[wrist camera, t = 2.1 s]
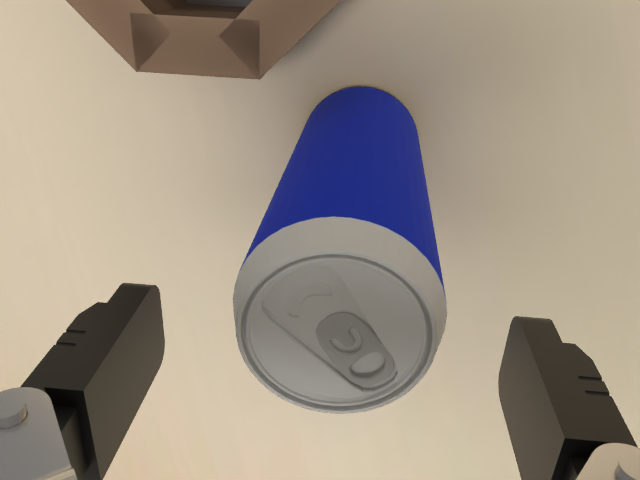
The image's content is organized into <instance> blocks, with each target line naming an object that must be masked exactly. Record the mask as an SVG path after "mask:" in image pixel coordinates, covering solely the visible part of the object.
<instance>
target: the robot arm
mask: <svg viewBox="0 0 640 480" xmlns="http://www.w3.org/2000/svg"><path fill="white" fill-rule="evenodd" d="M164 348H165V339H164V329H163V319H162V309H161V300H160V292H159V289H158V287H157V286H156V285H145V284H133V283H123V284H121V285H120V286H119V288H118V289H117V290H116V292H115V293H114V294H113V296H112V297H111V298H110V300H109V301H108V302H107V303H100V302H97V303H96V304H94V305H93V306H91V307H90V308H88V309H86V310H85V311H83V312H82V313H80V314H79V315H78V316H77V317H76V318H75V319H74V321H73V322H72V323H71V324H70V326H69V327H68V328H67V329H66V333H63V334H62V336H61V337H60V338H59V339H58V341H57V343H56V345H54V346H53V347H52V348H51V349H50V351H49V352H48V353H47V354H46V356H45V357H44V358H43V359H42V361H41V362H40V363H39V364H38V366H37V367H36V368H35V369H34V371H33V372H32V373H31V374H30V376H29V377H28V378H27V379H26V380H25V382H24V383H23V384H22V385H21V387H18V388H12V389H8V390H4V391H2V392H0V480H103V478H104V476H105V474H106V472H107V470H108V468H109V466H110V464H111V462H112V460H113V458H114V456H115V454H116V452H117V451H118V449H119V447H120V445H121V443H122V441H123V439H124V437H125V435H126V433H127V431H128V429H129V427H130V425H131V423H132V421H133V419H134V417H135V415H136V413H137V411H138V409H139V407H140V405H141V403H142V402H143V400H144V398H145V396H146V394H147V392H148V390H149V388H150V386H151V384H152V382H153V380H154V378H155V376H156V374H157V372H158V370H159V368H160V366H161V363H162V360H163V355H164ZM499 397H500V402H501V406H502V409H503V413H504V417H505V420H506V424H507V428H508V431H509V435H510V439H511V442H512V446H513V450H514V453H515V457H516V461H517V464H518V468H519V472H520V476H521V479H522V480H640V448H638V447H637V445H636V443H635V441H634V439H633V437H632V435H631V433H630V431H629V429H628V427H627V425H626V424H625V422H624V420H623V418H622V416H621V414H620V412H619V410H618V408H617V406H616V404H615V402H614V400H613V398H612V397H611V396H609V391H608V389H607V387H606V385H605V383H604V382H603V381H602V377H601V375H600V373H599V372H598V370H597V368H596V366H595V364H594V362H593V360H592V359H591V358H590V357H589V356H587V355H586V354H585V353H584V352H583V351H582V350H581V349H580V348H579V347H578V346H576V345H575V344H570V343H562V341H561V339H560V336H559V334H558V332H557V330H556V328H555V326H554V324H553V322H552V320H550V319H543V318H531V317H519V316H515V317H514V318H513V320H512V322H511V325H510V329H509V334H508V338H507V342H506V346H505V351H504V355H503V359H502V363H501V367H500V372H499Z"/></svg>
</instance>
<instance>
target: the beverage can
mask: <svg viewBox="0 0 640 480" xmlns="http://www.w3.org/2000/svg"><path fill="white" fill-rule="evenodd" d="M233 307H234V318H235V326H236V337H237V341H238V346H239V350H240V352H241V354H242V357H243V359H244V361H245V363H246V365H247V366H248V368H249V369H250V371H251V372H252V374H253V375H254V376H255V377H256V378H257V379H258V380H259V381H260V383H262V384H263V385H264V386H265V387H266V388H267V389H269V390H270V391H271V392H273V393H274V394H276V395H277V396H279V397H280V398H282V399H284V400H286V401H288V402H290V403H292V404H294V405H297V406H300V407H303V408H306V409H309V410H314V411H319V412H324V413H336V414H342V413H357V412H363V411H368V410H372V409H375V408H379V407H382V406H384V405H386V404H388V403H391V402H393V401H395V400H396V399H398V398H400V397H401V396H403V395H405V394H406V393H407V392H408V391H410V390H411V389H412V388H413V387H414V386H415V385H416V384H417V383H418V382H419V381H420V380H421V379H422V377H423V376H424V375H425V374H426V372H427V370H428V369H429V367H430V365H431V363H432V361H433V358H434V356H435V353H436V351H437V348H438V346H439V344H440V341H441V338H442V335H443V332H444V329H445V323H446V317H447V310H446V297H445V291H444V285H443V279H442V274H441V268H440V262H439V256H438V250H437V244H436V238H435V233H434V227H433V221H432V215H431V209H430V203H429V198H428V192H427V186H426V180H425V174H424V168H423V163H422V157H421V151H420V145H419V139H418V134H417V129H416V125H415V123H414V121H413V118H412V116H411V115H410V113H409V112H408V110H407V109H406V108H405V107H404V105H403V104H402V103H401V102H400V101H398V100H397V99H396V98H395V97H393V96H391V95H390V94H388V93H386V92H384V91H381V90H378V89H375V88H370V87H351V88H346V89H343V90H340V91H337V92H335V93H333V94H331V95H330V96H328V97H327V98H325V99H324V100H323V101H322V102H320V103H319V104H318V105H317V106H316V108H315V109H314V110H313V112H312V113H311V115H310V117H309V119H308V120H307V123H306V125H305V127H304V129H303V131H302V134H301V136H300V138H299V140H298V143H297V145H296V147H295V149H294V151H293V154H292V156H291V158H290V160H289V162H288V165H287V167H286V169H285V171H284V174H283V176H282V178H281V180H280V182H279V185H278V187H277V189H276V191H275V193H274V196H273V198H272V200H271V202H270V205H269V207H268V209H267V211H266V213H265V216H264V218H263V220H262V222H261V225H260V227H259V229H258V231H257V233H256V236H255V238H254V240H253V242H252V244H251V247H250V249H249V251H248V253H247V256H246V258H245V260H244V262H243V264H242V267H241V269H240V271H239V274H238V277H237V280H236V283H235V288H234V296H233Z"/></svg>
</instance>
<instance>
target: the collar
mask: <svg viewBox="0 0 640 480" xmlns="http://www.w3.org/2000/svg"><path fill="white" fill-rule="evenodd" d="M66 1H67V2H68V3H69V4H70V5H71V6H72V7H73V8H74V9H75V10H76V11H77V12H78V13H79V14H80V15H81V16H82V17H83V18H84V19H85V20H86V21H87V22H88V23H89V24H90V25H91V26H92V27H93V28H94V29H95V30H96V31H97V32H98V33H99V34H100V35H101V36H102V37H103V38H104V39H105V40H106V41H107V42H108V43H109V44H110V45H111V46H112V47H113V48H114V49H115V50H116V51H117V52H118V53H119V54H120V55H121V56H122V57H123V58H124V59H125V60H126V62H127V63H128V64H129V65H130V66H131V67H132V68H133V69H134V70H135V71H136V72H153V73H168V74H184V75H200V76H215V77H231V78H247V79H261V78H262V77H263V75H264V74H265V73H266V72H267V71H268V70H269V69H270V68H271V67H272V66H273V65H274V64H275V63H277V62H278V61H279V60H280V59H281V58H282V57H283V56H284V55H285V54H286V53H287V52H288V51H289V50H290V49H291V48H292V47H293V46H294V45H295V44H296V43H297V42H298V41H299V40H300V39H301V38H302V37H303V36H304V35H305V34H306V33H307V32H308V31H309V30H310V29H311V28H312V27H314V26H315V25H316V24H317V23H318V22H319V21H320V20H321V19H322V18H323V17H324V16H325V15H326V14H327V13H328V12H329V11H330V10H331V9H332V8H333V7H334V6H335V5H336V4H337V3H338V2H339V1H340V0H66Z"/></svg>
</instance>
